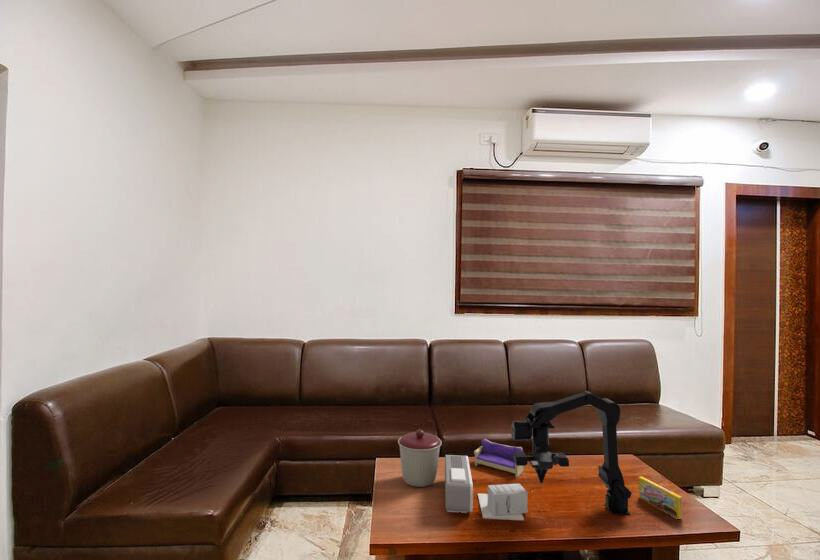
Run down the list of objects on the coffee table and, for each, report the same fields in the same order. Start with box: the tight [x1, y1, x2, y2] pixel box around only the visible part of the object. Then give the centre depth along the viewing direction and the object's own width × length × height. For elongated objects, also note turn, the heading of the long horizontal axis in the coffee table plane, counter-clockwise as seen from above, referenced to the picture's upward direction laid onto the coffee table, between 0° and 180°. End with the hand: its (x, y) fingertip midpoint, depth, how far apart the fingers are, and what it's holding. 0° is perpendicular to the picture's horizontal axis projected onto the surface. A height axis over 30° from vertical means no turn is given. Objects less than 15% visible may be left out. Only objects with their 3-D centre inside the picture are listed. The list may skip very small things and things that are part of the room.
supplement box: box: [487, 483, 529, 515], centre depth 146 cm, size 7×7×13 cm
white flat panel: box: [477, 492, 525, 521], centre depth 148 cm, size 14×16×1 cm
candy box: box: [638, 475, 683, 520], centre depth 150 cm, size 16×2×8 cm, turn 20°
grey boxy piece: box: [444, 454, 474, 514], centre depth 155 cm, size 27×9×12 cm, turn 176°
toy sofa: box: [473, 438, 524, 478], centre depth 181 cm, size 21×9×10 cm, turn 56°
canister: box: [397, 429, 443, 488], centre depth 167 cm, size 18×18×21 cm
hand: (540, 482), depth 148 cm, fingers closed
